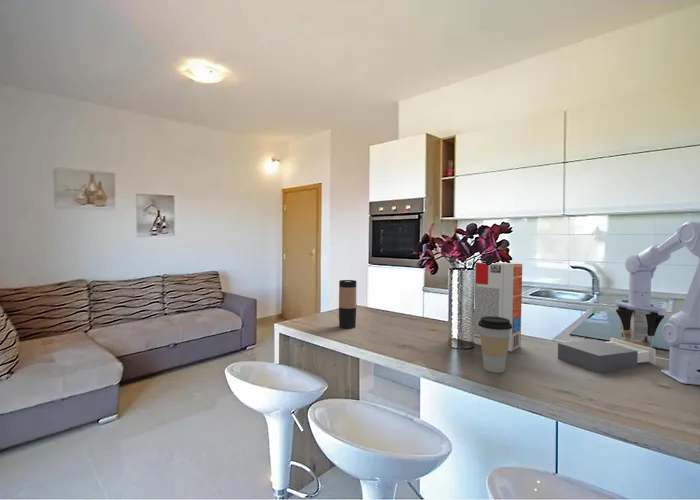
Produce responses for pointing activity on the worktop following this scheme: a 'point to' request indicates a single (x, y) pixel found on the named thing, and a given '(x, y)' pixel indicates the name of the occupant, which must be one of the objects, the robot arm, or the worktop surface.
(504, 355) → the coffee cup
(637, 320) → the coffee box
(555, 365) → the worktop surface
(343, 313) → the travel mug
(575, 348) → the sleeve
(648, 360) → the mailer tray
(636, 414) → the worktop surface
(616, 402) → the worktop surface
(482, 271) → the pasta box
